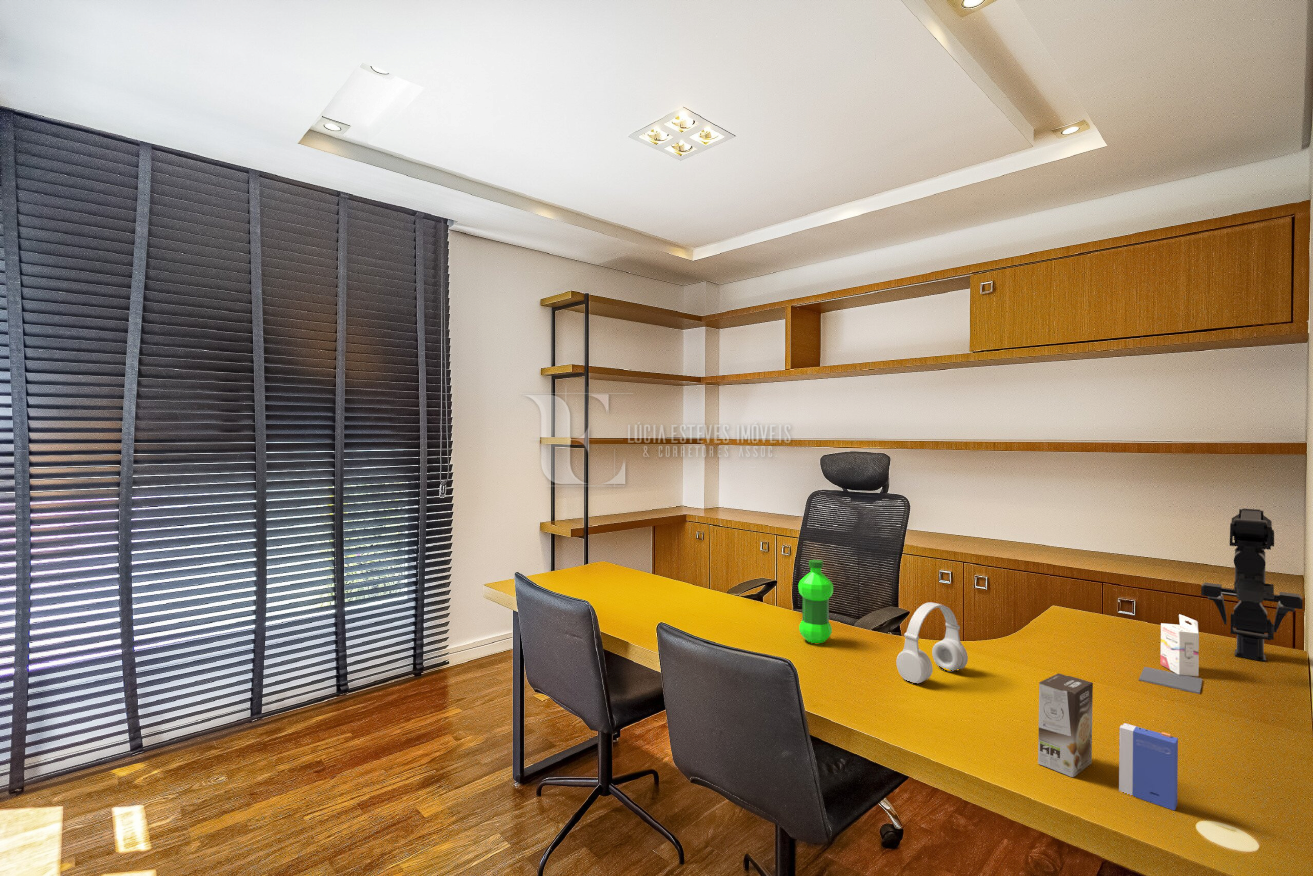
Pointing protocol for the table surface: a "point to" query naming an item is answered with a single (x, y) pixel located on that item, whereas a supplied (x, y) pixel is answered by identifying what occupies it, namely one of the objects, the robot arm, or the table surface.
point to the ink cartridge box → (1180, 647)
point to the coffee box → (1065, 724)
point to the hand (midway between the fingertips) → (1249, 628)
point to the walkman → (1148, 765)
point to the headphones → (944, 652)
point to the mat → (1171, 680)
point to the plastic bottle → (815, 604)
